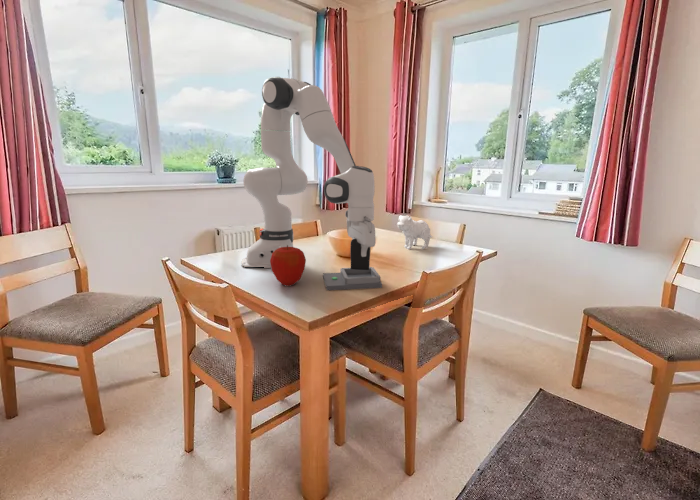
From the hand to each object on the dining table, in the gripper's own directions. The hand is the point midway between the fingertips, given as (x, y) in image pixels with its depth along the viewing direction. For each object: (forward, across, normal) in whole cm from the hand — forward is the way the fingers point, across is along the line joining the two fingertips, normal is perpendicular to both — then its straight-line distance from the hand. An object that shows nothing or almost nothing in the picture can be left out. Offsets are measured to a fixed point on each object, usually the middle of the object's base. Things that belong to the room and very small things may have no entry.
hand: (360, 254), depth 127 cm
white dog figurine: (+10, +42, -43) cm, 62 cm away
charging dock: (+10, +1, +3) cm, 11 cm away
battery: (+6, 0, 0) cm, 6 cm away
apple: (+10, +5, +25) cm, 27 cm away
